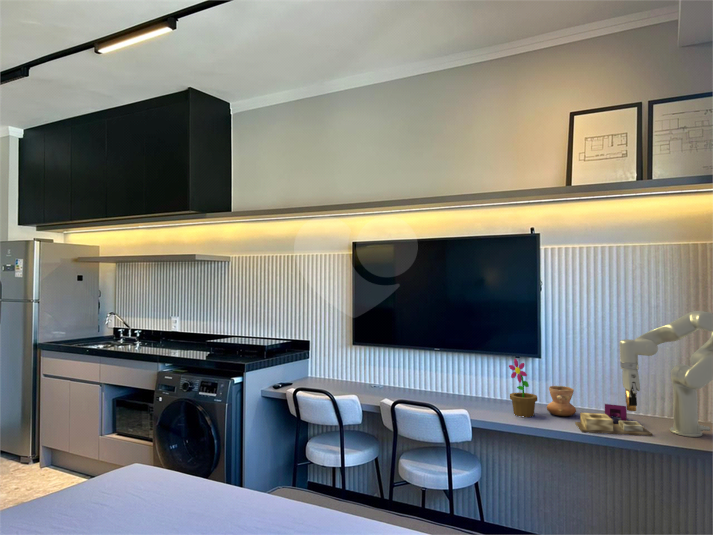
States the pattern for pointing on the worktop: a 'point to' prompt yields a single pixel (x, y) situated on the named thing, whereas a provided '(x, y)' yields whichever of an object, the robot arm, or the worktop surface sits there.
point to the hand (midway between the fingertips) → (631, 404)
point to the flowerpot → (522, 394)
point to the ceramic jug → (561, 401)
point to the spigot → (629, 408)
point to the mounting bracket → (616, 411)
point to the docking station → (609, 425)
